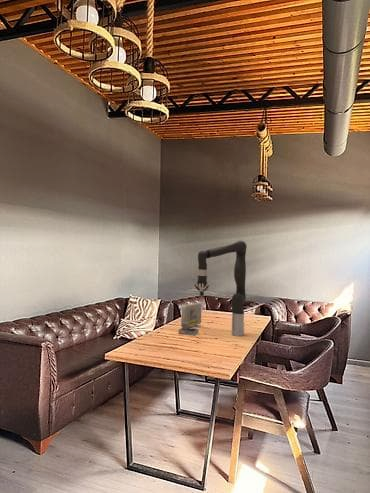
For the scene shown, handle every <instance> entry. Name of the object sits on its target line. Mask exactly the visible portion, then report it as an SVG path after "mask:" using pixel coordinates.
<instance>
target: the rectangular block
mask: <svg viewBox="0 0 370 493" xmlns="http://www.w3.org/2000/svg"><path fill="white" fill-rule="evenodd" d="M188 326H189V322H184V323H182V327H181V329H182V330H188Z"/></svg>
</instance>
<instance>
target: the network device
mask: <svg viewBox="0 0 370 493" xmlns="http://www.w3.org/2000/svg"><path fill="white" fill-rule="evenodd" d="M180 311H181V314H180V315H181V318H180V319H181V320H180V327H181V328H182V323H184V322H189V326H188V328H191V329H199V328H201V325H200V324H201V323H202V303H201V302H194V303H188V304H183V305H181V310H180Z"/></svg>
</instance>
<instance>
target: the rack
mask: <svg viewBox="0 0 370 493" xmlns="http://www.w3.org/2000/svg"><path fill="white" fill-rule="evenodd" d="M178 334H179V335H186V336H187V335H188V336H196V335H198V334H199V328H196V329H192V328H188V330H182V328H180V329H178Z"/></svg>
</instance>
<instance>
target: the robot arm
mask: <svg viewBox="0 0 370 493" xmlns="http://www.w3.org/2000/svg"><path fill="white" fill-rule="evenodd" d="M247 248H248V247H247V242H246V241H243V240H238V241H236V242H234V243H231V244H228V245H223V246H218V247H214V248H213V247H212V248H210V249H206V250H200V251H199V252H198V254H197V262H198V265H197V266H198V267H197V269H198V270H197V282H196V283H195V284H194V287H195V289H197V291H199V296H200V297H204V295H205V292H206V291H207V290H208V289H209V288H210V286H211V285H210V284H208V270H207V269H208V264H207V259H210V258H215V257H219V256H224V255H226V254H230V253H231V254H232V253H236V255H235V257H236V258H235V263H234V270H233V277H234V282H235V286H236V291H235V293H234V294H233V295H232V297H231V312H232V313H231V314H232V316H231V317H232V318H231V335H232V336H235V337H236V336H237V337H243V336H244V335H245V319H244V318H245V310H244V308H243V306H244V304H245V302H246V300H247V299H246V297H247V296H246V295H247V294H246V277H247V274H246V273H247V272H246V271H247V270H246V268H247V267H246V266H247V264H246V255H247Z"/></svg>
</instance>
